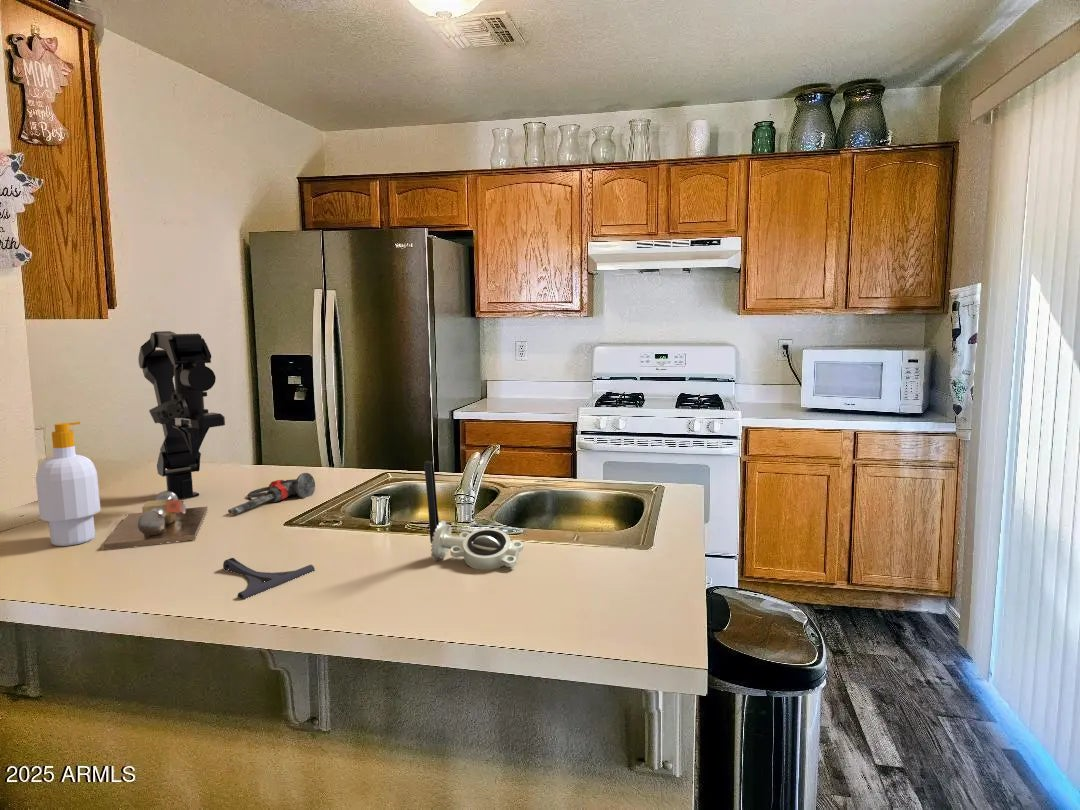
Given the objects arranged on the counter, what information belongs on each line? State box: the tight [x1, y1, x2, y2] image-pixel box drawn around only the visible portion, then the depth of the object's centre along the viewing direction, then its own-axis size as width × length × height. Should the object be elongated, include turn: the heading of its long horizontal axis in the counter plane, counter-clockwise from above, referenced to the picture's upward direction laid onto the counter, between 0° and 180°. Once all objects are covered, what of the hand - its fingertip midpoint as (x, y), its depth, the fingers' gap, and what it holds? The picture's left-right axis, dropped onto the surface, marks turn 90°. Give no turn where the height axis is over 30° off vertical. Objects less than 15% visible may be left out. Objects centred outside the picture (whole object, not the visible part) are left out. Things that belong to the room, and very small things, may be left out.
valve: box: [227, 472, 316, 515], centre depth 169 cm, size 6×26×15 cm
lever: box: [167, 499, 187, 514], centre depth 144 cm, size 2×2×12 cm
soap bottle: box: [35, 421, 101, 547], centre depth 139 cm, size 10×10×24 cm
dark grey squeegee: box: [222, 557, 315, 600], centre depth 121 cm, size 14×15×3 cm
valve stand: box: [103, 490, 209, 551], centre depth 147 cm, size 22×16×6 cm
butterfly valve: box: [423, 460, 524, 571], centre depth 124 cm, size 9×20×17 cm
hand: (194, 454), depth 161 cm, fingers closed
